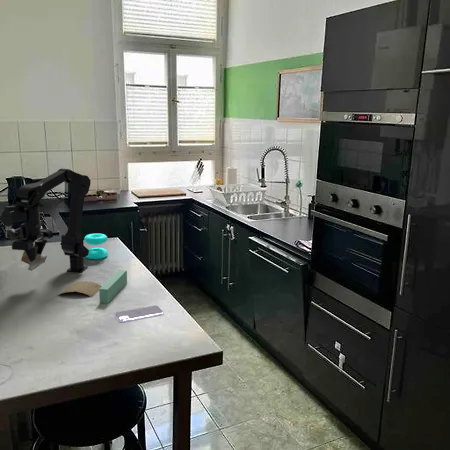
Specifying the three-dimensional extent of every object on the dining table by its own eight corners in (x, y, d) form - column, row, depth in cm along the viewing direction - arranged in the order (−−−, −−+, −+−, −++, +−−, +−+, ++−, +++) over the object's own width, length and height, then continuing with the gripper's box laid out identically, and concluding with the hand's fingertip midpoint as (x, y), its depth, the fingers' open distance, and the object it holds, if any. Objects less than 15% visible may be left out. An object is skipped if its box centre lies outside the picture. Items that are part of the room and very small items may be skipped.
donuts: (103, 238, 199) (80, 238, 200) (104, 260, 202) (82, 259, 202) (109, 233, 209) (88, 232, 209) (110, 253, 211) (89, 253, 212)
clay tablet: (104, 288, 171) (103, 281, 171) (95, 299, 161) (94, 291, 161) (66, 287, 172) (66, 280, 171) (55, 297, 162) (54, 290, 162)
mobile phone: (165, 312, 149) (119, 321, 142) (165, 315, 149) (119, 324, 142) (157, 304, 155) (113, 311, 149) (157, 306, 155) (113, 314, 149)
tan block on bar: (15, 263, 164) (18, 254, 163) (30, 255, 174) (33, 246, 173) (31, 270, 164) (34, 261, 163) (44, 262, 174) (47, 253, 173)
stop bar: (119, 282, 176) (119, 269, 175) (127, 282, 176) (126, 270, 175) (99, 302, 157) (99, 288, 156) (108, 303, 157) (107, 289, 155)
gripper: (24, 214, 175) (27, 253, 178) (-5, 225, 157) (-1, 268, 160) (52, 215, 174) (54, 254, 177) (25, 227, 156) (29, 270, 159)
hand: (35, 261), depth 169 cm, fingers closed on tan block on bar, 3 cm apart
